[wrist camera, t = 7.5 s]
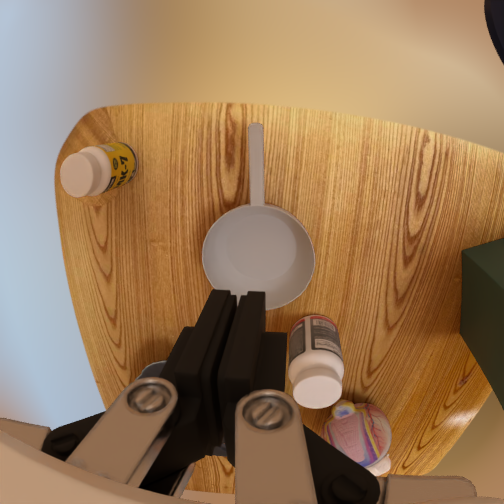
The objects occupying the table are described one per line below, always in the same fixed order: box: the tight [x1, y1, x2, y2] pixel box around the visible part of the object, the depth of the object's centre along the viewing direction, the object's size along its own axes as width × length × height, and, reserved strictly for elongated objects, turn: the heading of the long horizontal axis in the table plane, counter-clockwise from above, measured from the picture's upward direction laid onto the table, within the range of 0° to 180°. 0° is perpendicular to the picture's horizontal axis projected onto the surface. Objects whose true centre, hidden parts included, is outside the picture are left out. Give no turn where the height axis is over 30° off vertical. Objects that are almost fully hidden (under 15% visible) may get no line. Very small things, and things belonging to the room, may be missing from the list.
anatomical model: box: [320, 399, 392, 469], centre depth 36 cm, size 10×12×10 cm
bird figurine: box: [367, 454, 391, 476], centre depth 43 cm, size 5×7×10 cm
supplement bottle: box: [60, 142, 138, 198], centre depth 28 cm, size 5×5×8 cm
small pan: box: [202, 123, 315, 310], centre depth 30 cm, size 11×18×4 cm, turn 1°
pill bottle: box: [288, 315, 344, 409], centre depth 32 cm, size 6×6×10 cm
